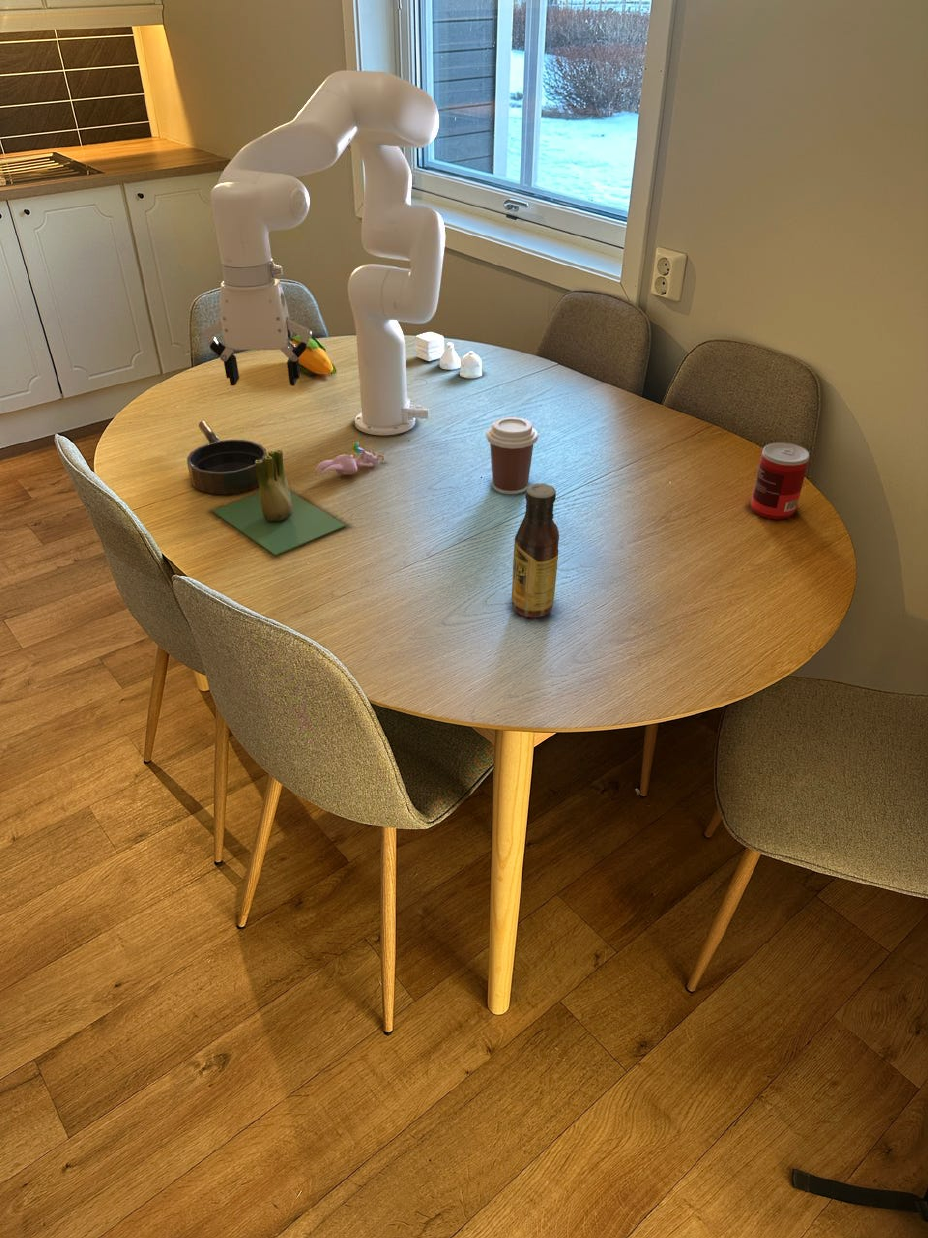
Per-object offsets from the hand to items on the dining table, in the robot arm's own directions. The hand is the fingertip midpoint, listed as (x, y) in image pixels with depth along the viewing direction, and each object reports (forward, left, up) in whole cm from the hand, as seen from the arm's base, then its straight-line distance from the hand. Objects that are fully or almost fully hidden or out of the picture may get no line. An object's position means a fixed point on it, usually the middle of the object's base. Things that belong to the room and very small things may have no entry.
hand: (264, 382), depth 143 cm
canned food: (-87, -1, -22) cm, 90 cm away
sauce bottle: (-44, +31, -22) cm, 58 cm away
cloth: (-1, +6, -22) cm, 23 cm away
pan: (+11, -9, -22) cm, 26 cm away
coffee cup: (-41, -8, -22) cm, 47 cm away
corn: (+5, -65, -22) cm, 69 cm away
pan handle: (+17, -20, -19) cm, 33 cm away
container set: (-27, -70, -22) cm, 78 cm away
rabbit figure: (-11, -12, -22) cm, 27 cm away
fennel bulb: (-1, +6, -22) cm, 23 cm away
